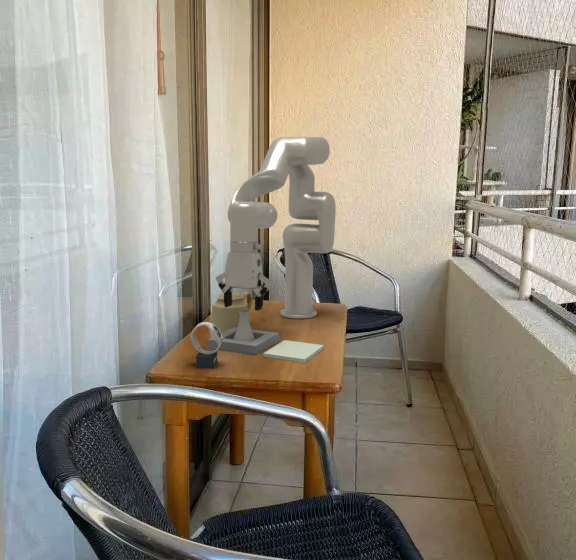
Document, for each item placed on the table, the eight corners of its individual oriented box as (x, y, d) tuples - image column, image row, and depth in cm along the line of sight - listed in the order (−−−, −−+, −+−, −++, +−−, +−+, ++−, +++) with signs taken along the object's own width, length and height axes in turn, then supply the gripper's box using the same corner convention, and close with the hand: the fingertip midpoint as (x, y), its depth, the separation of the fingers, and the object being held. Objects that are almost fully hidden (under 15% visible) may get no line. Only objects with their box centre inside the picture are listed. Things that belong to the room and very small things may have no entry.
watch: (221, 368, 148) (220, 326, 146) (189, 367, 149) (188, 325, 147) (224, 361, 154) (224, 320, 152) (194, 360, 154) (193, 319, 152)
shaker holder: (234, 335, 179) (234, 327, 179) (279, 341, 173) (279, 332, 173) (208, 348, 166) (207, 339, 165) (255, 355, 160) (255, 346, 159)
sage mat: (284, 343, 171) (284, 340, 171) (323, 348, 166) (323, 345, 166) (263, 356, 158) (263, 353, 158) (304, 362, 153) (304, 359, 153)
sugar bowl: (220, 322, 195) (219, 277, 192) (253, 323, 193) (253, 278, 191) (208, 334, 180) (207, 285, 178) (244, 335, 179) (243, 286, 176)
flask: (253, 349, 165) (253, 314, 163) (228, 347, 167) (228, 312, 165) (259, 342, 172) (259, 308, 170) (235, 340, 174) (235, 307, 172)
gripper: (277, 248, 164) (276, 308, 167) (223, 244, 171) (223, 302, 174) (265, 250, 157) (264, 313, 160) (209, 247, 164) (209, 307, 167)
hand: (243, 308), depth 167 cm, fingers open, 9 cm apart
